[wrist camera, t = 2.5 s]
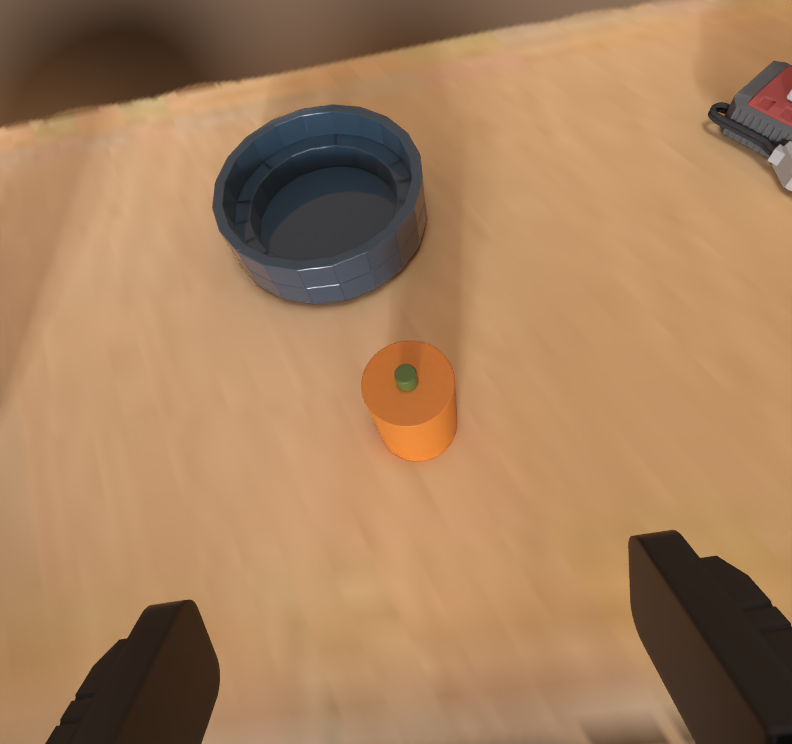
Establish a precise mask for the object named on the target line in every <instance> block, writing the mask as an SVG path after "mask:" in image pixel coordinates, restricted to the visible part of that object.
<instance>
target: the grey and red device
mask: <svg viewBox="0 0 792 744" xmlns="http://www.w3.org/2000/svg"><path fill="white" fill-rule="evenodd" d="M718 112H721V113H724V114H725V116H723V115H721V114H719V113H718ZM708 116H709V118H710V119H711V120H712V121H713V122H714V123H716V124H718V125H720V128H721V131H722V134H724V135H726V136H728V137H730V138H732V139H734V140H736V141H738V142H739V143H741V144H743V145H745V146H747V147H749V148H751V149H752V150H754V151H756V152H758V153H760V154H762V155H764V156H766V157H768V158H769V159H768V160H767V161H769V162H771V163H772V167H773V169H774V171H775V173H776V175H777V177H778V179H779V181H780V183H781V185H782V186H783V187H784V188H786V189H788V190H790V191H792V65H790V64H788V63H784V62H776V61H773V62H772V63H771V64H770V65H769V66H768V67H766V68H765V69H764V70H763V71H762V72H761V73H760V74H758V75H757V76H756V77H755V78H754V79H753V80H752V81H750V82H749V83H748V84H747V85H746V86H745V87H744V88H743V89H741V90H740V91H739V92H738V93H737V95H736V96H735V97H734V99H733V101H732V103H731V105H729V104H727V103H723V102H720V103H716V104H714V105H712V107H711V108H710V111H709V113H708Z"/></svg>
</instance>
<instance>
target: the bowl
mask: <svg viewBox="0 0 792 744" xmlns="http://www.w3.org/2000/svg"><path fill="white" fill-rule="evenodd" d="M212 209H213V212H214V215H215V219H216V222H217V225H218V228H219V231H220V233H221V235H222V236H223V238H224V239H225V241H226V242H227V244H228V246H229V247H230V249H231V250H232V252H233V253H234V255H235V256H236V258H237V260H238V261H239V263H240V264H241V266H242V267H243V268H244V270H245V271H246V272H247V273H248V274H249V275H250V277H251V278H252V279H253V280H254V281H255V282H256V284H257V285H259V287H261V288H263V289H265V290H267V291H269V292H271V293H273V294H275V295H276V296H278V297H280V298H282V299H285V300H291V301H297V302H303V303H309V304H320V303H329V302H338V301H345V300H349V299H351V298H354V297H356V296H359V295H362V294H364V293H367V292H369V291H372V290H374V289H376V288H378V287H379V286H381V285H382V284H383V283H385V282H386V281H387V280H389V279H390V278H391V277H393V276H394V275H395V274H397V273H398V272H399V271H401V270H402V269H403V267H404V266H405V265H406V263H407V262H408V261H409V259H410V258H411V256H412V255H413V254H414V252H415V251H416V250H417V248H418V247H419V244H420V241H421V238H422V235H423V231H424V228H425V224H426V221H427V216H426V206H425V196H424V186H423V176H422V167H421V157H420V153H419V152H418V150H417V148H416V146H415V145H414V143H413V141H412V139H411V138H410V136H409V134H408V133H407V132H406V131H405V130H403V129H402V128H401V127H400V126H398V125H397V124H396V123H394V122H393V121H392V120H391V119H389V118H388V117H386V116H384V115H381V114H378V113H376V112H373V111H370V110H367V109H365V108H362V107H355V106H343V105H326V106H319V107H312V108H305V109H300V110H297V111H295V112H292V113H289V114H287V115H284V116H281V117H279V118H276V119H274V120H271V121H270V122H268V123H267V124H265V125H264V126H262V127H261V128H259V129H258V130H256V131H255V132H253V133H252V134H250V135H249V136H247V137H246V138H245V139H244V140H243V141H242V142H241V143H240V144H239V145H238V147H237V148H236V149H235V150H234V151H233V152H232V153H231V154H230V155H229V156H228V157H227V159H226V161H225V163H224V165H223V167H222V169H221V171H220V173H219V175H218V177H217V179H216V182H215V188H214V197H213V205H212Z"/></svg>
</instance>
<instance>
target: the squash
mask: <svg viewBox="0 0 792 744" xmlns="http://www.w3.org/2000/svg"><path fill="white" fill-rule="evenodd" d="M361 390H362V396H363V399H364V402H365V404H366V406H367V408H368V410H369V412H370V414H371V416H372V419H373V421H374V423H375V425H376V427H377V429H378V431H379V433H380V435H381V437H382V439H383V441H384V443H385V445H386V446H387V447H388V449H389V450H390V451H391V452H393V453H394V454H395V455H397V456H399V457H401V458H403V459H406V460H411V461H424V460H428V459H431V458H434V457H436V456H438V455H439V454H441V453H442V452H443V451H444V450H446V449H447V447H448V446H449V445H450V444H451V442H452V440H453V438H454V436H455V433H456V428H457V414H456V393H455V377H454V372H453V369H452V367H451V364H450V363H449V361H448V359H447V358H446V357H445V356H444V355H443V354H442V353H441V352H440V351H439V350H437V349H436V348H434V347H432V346H431V345H428V344H426V343H422V342H417V341H403V342H398V343H394V344H391V345H389V346H387V347H385V348H383V349H382V350H380V351H379V352H378V353H377V354H375V355H374V357H373V358H372V359H371V360H370V361H369V363H368V364H367V366H366V368H365V370H364V373H363V377H362V383H361Z"/></svg>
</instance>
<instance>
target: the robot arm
mask: <svg viewBox="0 0 792 744" xmlns="http://www.w3.org/2000/svg"><path fill="white" fill-rule="evenodd" d="M628 549H629V577H630V603H631V610H632V615H633V619H634V623H635V626H636V629H637V632H638V634H639V637H640V639H641V641H642V643H643V645H644V647H645V649H646V651H647V653H648V655H649V656H650V658H651V660H652V662H653V664H654V666H655V668H656V670H657V671H658V673H659V675H660V677H661V679H662V681H663V683H664V685H665V686H666V688H667V690H668V692H669V694H670V696H671V698H672V700H673V702H674V703H675V705H676V707H677V709H678V711H679V713H680V715H681V717H682V718H683V720H684V722H685V724H686V726H687V728H688V730H689V732H690V733H691V735H692V737H693V739H694V741H695V743H696V744H792V627H791V623H790V622H789V621H788V620H787V619H786V617H785V616H784V615H783V614H782V613H781V612H780V611H779V610H778V608H777V607H773V606H772V604H771V601H770V599H769V598H768V597H767V596H766V595H765V594H764V593H763V592H762V590H761V589H760V588H759V587H758V586H757V585H756V584H755V583H754V581H753V580H752V579H751V578H750V577H749V576H748V575H747V574H745V573H743V572H742V571H740V570H739V569H737V568H735V567H734V566H732V565H731V564H729V563H727V562H726V561H724V560H723V559H721V558H719V557H718V556H711V557H704V558H699V556H698V555H697V554H696V553H695V551H694V550H693V549H692V548H691V546H690V545H689V544H688V543H687V541H686V540H685V539H684V538H683V536H682V535H681V534H680V533H679V532H677V531H676V530H669V531H662V532H655V533H649V534H642V535H635V536H631V537H630V538H629V543H628ZM219 684H220V669H219V663H218V659H217V656H216V653H215V651H214V648H213V646H212V643H211V640H210V638H209V635H208V633H207V630H206V628H205V625H204V622H203V620H202V617H201V615H200V612H199V610H198V607H197V605H196V604H195V602H194V601H192V600H182V601H175V602H168V603H162V604H155V605H150V606H148V607H147V608H146V609H145V610H144V611H143V612H142V614H141V616H140V617H139V619H138V621H137V623H136V624H135V626H134V628H133V630H132V631H131V633H130V635H129V636H128V638H127V639H121V640H119V641H118V642H117V643H116V644H115V645H114V646H113V647H112V648H111V649H110V650H109V651H108V652H107V653H106V654H105V655H104V656H103V657H102V658H101V659H100V660H99V661H98V662H97V663H96V664H95V665H94V666H93V667H92V669H91V671H90V672H89V674H88V675H87V677H86V679H85V680H84V682H83V684H82V685H81V687H80V688H79V690H78V692H77V693H76V699H75V701H71V703H70V705H69V706H68V708H67V709H66V711H65V713H64V714H63V716H62V718H61V719H60V721H61V722H60V725H59V726H56V727H55V729H54V731H53V732H52V734H51V735H50V737H49V739H48V740H47V742H46V743H45V744H201V743H202V740H203V737H204V734H205V731H206V728H207V725H208V722H209V720H210V717H211V714H212V711H213V708H214V705H215V702H216V699H217V696H218V691H219Z"/></svg>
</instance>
